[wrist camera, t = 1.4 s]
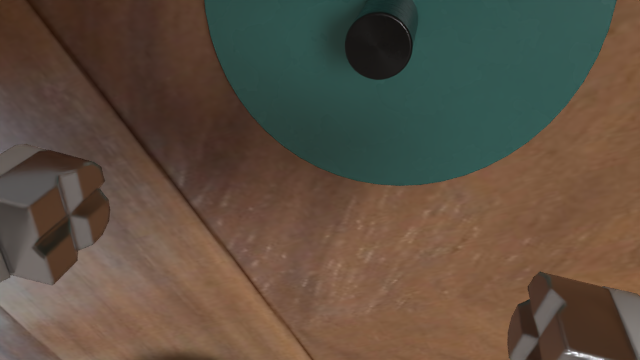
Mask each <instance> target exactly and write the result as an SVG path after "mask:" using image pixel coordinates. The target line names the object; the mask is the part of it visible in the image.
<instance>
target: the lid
mask: <svg viewBox="0 0 640 360" xmlns="http://www.w3.org/2000/svg"><path fill="white" fill-rule="evenodd" d="M204 1H205V11H206V16H207V21H208V26H209V31H210V36H211V39H212V42H213V45H214V48H215V51H216V54H217V57H218V60H219V62H220V64H221V66H222V68H223V71H224V73H225V75H226V77H227V79H228V81H229V83H230V85H231V86H232V88H233V90H234V91H235V93H236V95H237V96H238V98H239V99H240V101H241V102H242V103H243V105H244V106H245V108H246V109H247V110H248V112H249V113H250V114H251V116H252V117H253V118H254V119H255V120H256V121H257V122H258V123H259V124H260V125H261V126H262V127H263V128H264V130H265V131H266V132H267V133H269V134H270V135H271V136H272V137H273V138H274V139H276V140H277V141H278V142H279V143H280V144H281V145H282V146H284V147H285V148H287V149H288V150H290V151H291V152H293V153H294V154H296V155H297V156H298V157H300V158H302V159H304V160H306V161H307V162H309V163H311V164H313V165H315V166H317V167H319V168H321V169H324V170H326V171H328V172H331V173H333V174H336V175H339V176H342V177H346V178H349V179H353V180H356V181H361V182H367V183H373V184H381V185H396V186H403V185H422V184H428V183H435V182H441V181H445V180H449V179H453V178H457V177H460V176H464V175H467V174H469V173H472V172H474V171H477V170H480V169H482V168H485V167H487V166H489V165H491V164H493V163H495V162H496V161H498V160H500V159H502V158H504V157H506V156H508V155H509V154H511V153H512V152H514V151H515V150H517V149H518V148H520V147H521V146H523V145H524V144H526V143H527V142H529V141H530V140H531V139H532V138H533V137H534V136H536V135H537V134H538V133H539V132H540V131H541V130H543V129H544V128H545V127H546V126H547V125H548V124H549V123H550V122H551V121H552V120H553V119H554V118H555V117H556V116H557V115H558V114H559V113H560V112H561V110H562V109H563V108H564V107H565V106H566V105H567V104H568V102H569V101H570V100H571V98H572V97H573V96H574V94H575V93H576V91H577V90H578V89H579V87H580V86H581V85H582V83H583V82H584V80H585V78H586V76H587V75H588V73H589V71H590V69H591V68H592V66H593V64H594V62H595V60H596V59H597V57H598V54H599V52H600V50H601V47H602V45H603V42H604V40H605V37H606V35H607V33H608V30H609V27H610V23H611V19H612V16H613V12H614V8H615V4H616V1H617V0H204Z"/></svg>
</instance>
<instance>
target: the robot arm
mask: <svg viewBox="0 0 640 360" xmlns="http://www.w3.org/2000/svg"><path fill="white" fill-rule="evenodd" d="M104 182H105V180H104V176H103V172H102V168H101V166H99V165H98V164H96V163H95V162H92V161H88V160H85V159H81V158H77V157H74V156H70V155H66V154H63V153H59V152H55V151H51V150H46V149H42V148H39V147H35V146H31V145H28V144H23V145H15V146H13V147H12V148H10V149H8V150H7V151H5V152H3V153H1V154H0V282H2V281H4V280H6V279H8V278H10V275H13V276H17V277H21V278H25V279H29V280H33V281H37V282H41V283H45V284H49V285H52V286H53V285H54V284H55V283H56V282H57V281H58V280H59V279H60V278H61V277H62V276H63V275H64V274H65V273H66V272H67V271H68V270H69V268H70V267H71V266H72V265H73V264H74V263H75V262H76V261H77V259H78V250H81V249H83V248H86V247H89V246H91V245H93V244H94V243H95V242H96V241H97V240H98V239H99V238H100V237H101V236H102V235H103V233H104V230H105V228H106V226H107V224H108V222H109V216H110V206H109V201H108V199H107V197H106V196H105V195H104V194H103V192H102V191H101V190H100V187H101V186H102V184H103V183H104ZM528 292H529V297H530V299H529V300H527V301H525V302H523V303H520V304H518V305H517V307H516V309H515V311H514V313H513V315H512V317H511V321H510V325H509V330H508V342H507V345H508V354H509V358H510V360H640V296H639V295H638V294H636V293H632V292H627V291H623V290H618V289H614V288H609V287H605V286H603V287H601V286H598V285H593V284H589V283H585V282H581V281H577V280H573V279H568V278H564V277H560V276H556V275H552V274H547V273H543V272H539V273H538V274H537V275H535V276H534V277H533V279H532V281H531V282H530V284H529V286H528Z"/></svg>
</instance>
